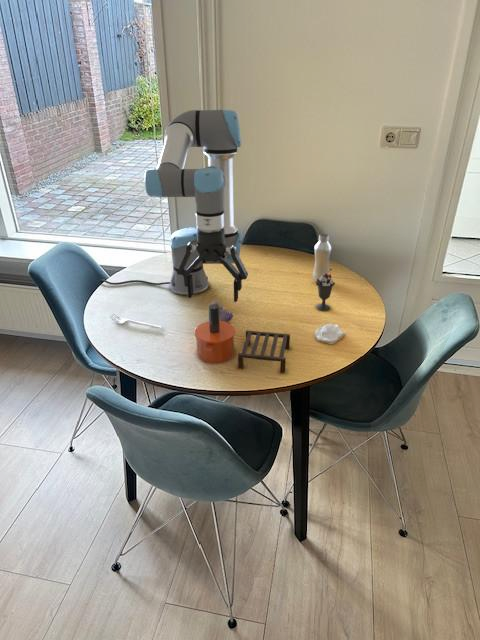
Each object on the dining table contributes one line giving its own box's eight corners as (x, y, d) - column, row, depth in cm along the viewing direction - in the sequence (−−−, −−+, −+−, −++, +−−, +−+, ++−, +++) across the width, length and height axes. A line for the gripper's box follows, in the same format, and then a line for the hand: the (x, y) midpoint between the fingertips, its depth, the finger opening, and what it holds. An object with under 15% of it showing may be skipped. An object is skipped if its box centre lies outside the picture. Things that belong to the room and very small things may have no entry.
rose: (348, 333, 151) (317, 333, 151) (347, 345, 153) (316, 345, 153) (343, 317, 159) (314, 317, 160) (342, 329, 162) (313, 329, 162)
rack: (238, 368, 143) (237, 354, 140) (246, 343, 155) (246, 330, 152) (284, 373, 141) (285, 359, 138) (289, 347, 152) (290, 334, 150)
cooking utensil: (160, 331, 161) (159, 326, 160) (109, 321, 167) (108, 317, 166) (164, 327, 164) (164, 322, 163) (114, 317, 170) (113, 312, 169)
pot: (190, 366, 144) (189, 345, 140) (204, 336, 158) (203, 317, 155) (227, 370, 142) (227, 349, 138) (238, 340, 156) (238, 320, 153)
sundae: (334, 305, 176) (338, 268, 169) (329, 313, 171) (333, 275, 164) (317, 301, 179) (320, 264, 171) (311, 309, 174) (314, 272, 166)
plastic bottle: (329, 286, 190) (334, 238, 180) (312, 286, 190) (316, 238, 180) (327, 279, 196) (331, 232, 186) (311, 279, 196) (314, 232, 186)
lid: (189, 342, 143) (187, 314, 138) (200, 322, 153) (198, 295, 148) (230, 347, 140) (229, 318, 136) (238, 325, 151) (238, 298, 146)
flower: (214, 319, 155) (224, 295, 160) (195, 322, 160) (205, 299, 165) (231, 336, 160) (240, 312, 165) (212, 338, 166) (221, 315, 171)
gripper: (162, 230, 129) (168, 300, 139) (253, 235, 124) (253, 307, 135) (170, 221, 135) (176, 289, 146) (258, 226, 131) (257, 295, 141)
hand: (213, 298), depth 140 cm, fingers open, 13 cm apart
